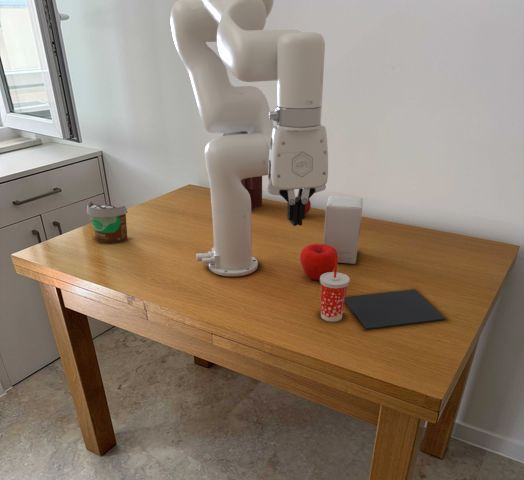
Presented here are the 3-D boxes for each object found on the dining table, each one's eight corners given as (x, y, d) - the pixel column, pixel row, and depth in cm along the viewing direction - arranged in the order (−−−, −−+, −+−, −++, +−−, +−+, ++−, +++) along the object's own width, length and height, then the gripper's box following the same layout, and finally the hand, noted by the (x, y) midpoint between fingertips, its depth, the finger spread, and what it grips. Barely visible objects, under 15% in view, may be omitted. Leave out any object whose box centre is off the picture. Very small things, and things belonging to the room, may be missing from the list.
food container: (82, 241, 146) (75, 206, 141) (96, 234, 151) (90, 200, 146) (119, 247, 143) (113, 212, 137) (131, 239, 147) (126, 205, 142)
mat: (365, 329, 106) (366, 328, 105) (342, 299, 117) (342, 297, 117) (444, 320, 109) (445, 318, 109) (414, 290, 120) (414, 289, 120)
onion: (310, 220, 161) (312, 194, 157) (292, 219, 162) (293, 194, 157) (309, 213, 166) (310, 189, 162) (291, 213, 166) (292, 189, 162)
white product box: (356, 264, 133) (362, 207, 125) (321, 262, 134) (325, 205, 126) (357, 251, 140) (363, 196, 132) (325, 248, 142) (328, 194, 134)
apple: (309, 288, 122) (311, 257, 117) (293, 273, 128) (294, 244, 124) (342, 281, 125) (345, 251, 120) (324, 267, 131) (326, 238, 127)
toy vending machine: (249, 213, 167) (248, 120, 151) (225, 206, 173) (221, 116, 157) (267, 207, 172) (268, 116, 157) (243, 200, 178) (241, 112, 163)
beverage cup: (329, 306, 114) (334, 247, 106) (351, 316, 110) (358, 255, 103) (311, 316, 110) (315, 255, 103) (333, 326, 107) (339, 264, 99)
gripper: (260, 123, 82) (261, 233, 92) (348, 119, 85) (340, 226, 95) (251, 116, 88) (252, 220, 98) (333, 112, 91) (326, 214, 101)
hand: (295, 223), depth 97 cm, fingers closed
